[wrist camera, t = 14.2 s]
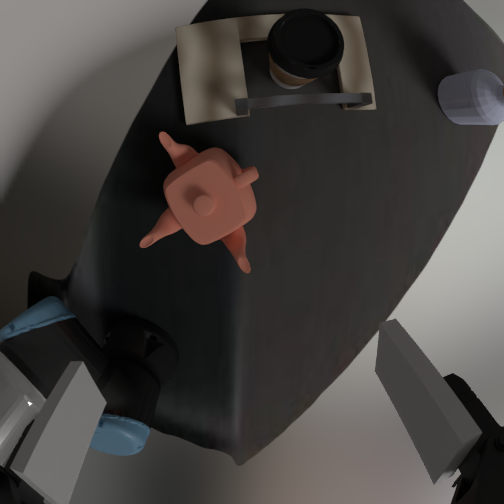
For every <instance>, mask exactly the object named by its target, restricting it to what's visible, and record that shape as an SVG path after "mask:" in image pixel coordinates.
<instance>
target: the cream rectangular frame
mask: <svg viewBox="0 0 504 504" xmlns="http://www.w3.org/2000/svg"><path fill="white" fill-rule="evenodd" d="M283 15H285V14H274V15H258V16H246V17H237V18H228V19H221V20H214V21H208V22H202V23H196V24H191V25H186V26H181V27H177V28H176V39H177V50H178V60H179V69H180V78H181V87H182V95H183V103H184V111H185V119H186V125H192V124H198V123H203V122H209V121H216V120H222V119H229V118H237V117H244V116H250V112H249V109H256V108H265V107H276V106H289V105H305V104H333V103H342V108H343V110H373V109H376V103H375V96H374V89H373V82H372V76H371V70H370V65H369V59H368V54H367V49H366V44H365V39H364V35H363V30H362V26H361V22H360V18H359V17H355V16H343V15H327V14H325V15H327V16H328V17H329V18H331V19H332V20H333V21H334V22H335V23H336V24H337V26H338V27H339V29H340V30H341V33H342V35H343V39H344V53H343V57H342V60H341V62H340V64H339V65H338V67H337V74H338V80H339V86H340V93H322V94H297V95H282V96H270V97H259V98H250V99H248V97H247V90H246V82H245V75H244V68H243V61H242V54H241V47H240V43H241V42H251V41H262V40H267V38H268V34H269V31H270V29H271V28H272V26H273V25H274V23H275V22H276V21H277V20H278V19H279V18H281V17H282V16H283Z"/></svg>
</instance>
